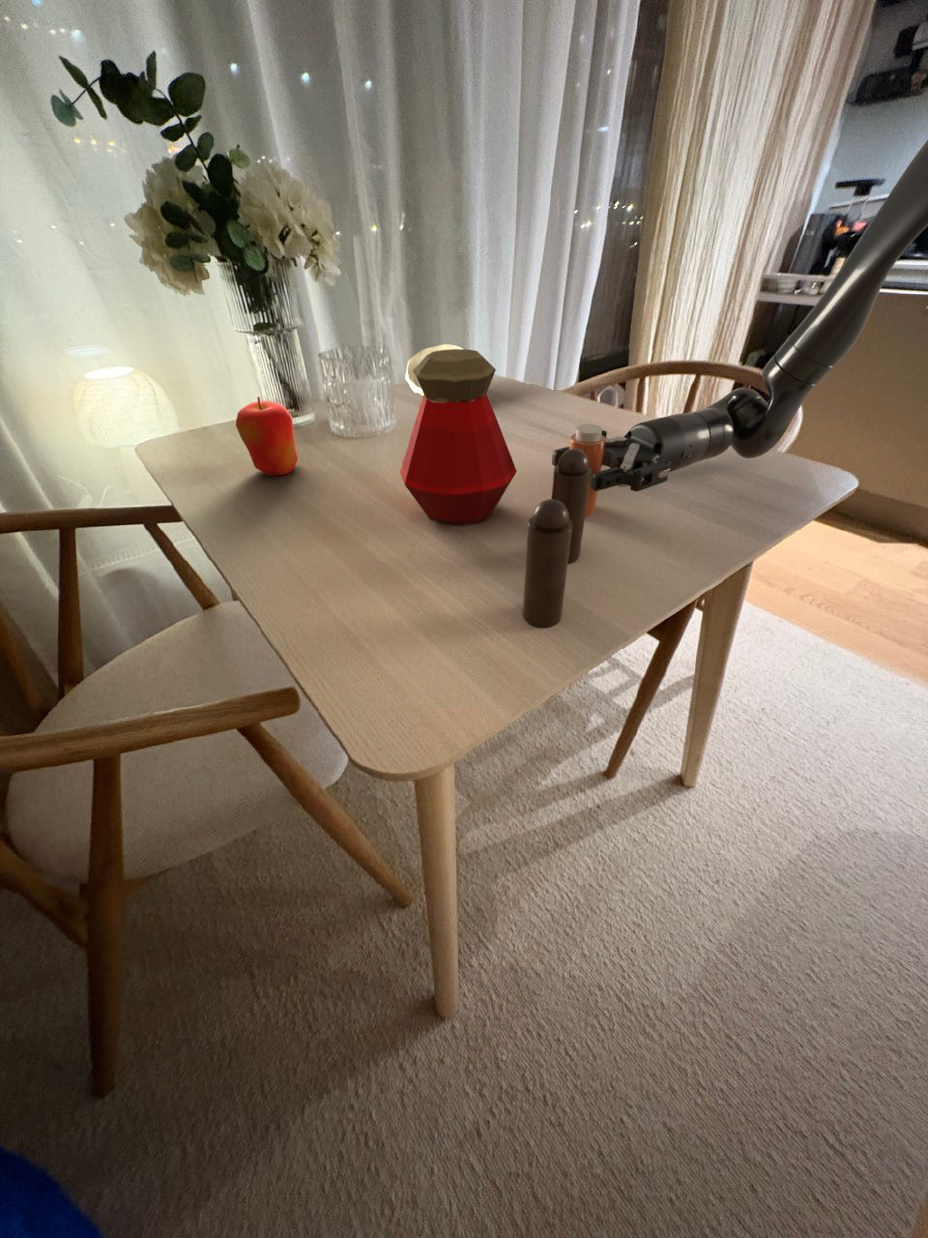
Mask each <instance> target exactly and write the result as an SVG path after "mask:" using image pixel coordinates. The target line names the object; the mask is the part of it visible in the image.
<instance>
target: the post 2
mask: <svg viewBox="0 0 928 1238" xmlns="http://www.w3.org/2000/svg"><path fill="white" fill-rule="evenodd" d="M591 472H592V470H591V468H590V467H589V460H588V457H587V455H586V454H585V453H584V452H583V451H582V450H580V449H575V448H574V449H569V450H567V451H565V452H564V453H563V454H562V455H561V457H560V459H559V463H558V465H557V466H556V467H555V466H554V469H553V477H552V487H551V488H552V489H551V499H555V500H558V501H560V502H562V503H563V504H564V505H565V506H566V508H567V510H568V513H569V519H570V520H571V521H572V524H573V526H572V534H571V542H570V550H569V558H568V564H569V565H570V564H573V563H576V562H577V561H579V559H580V556H581V548H582V541H583V534H584V528H585V520H586V516H585V514H586V507H587V500H588V493H589V486H590V479H591Z"/></svg>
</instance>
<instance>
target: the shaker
mask: <svg viewBox="0 0 928 1238" xmlns="http://www.w3.org/2000/svg"><path fill="white" fill-rule="evenodd" d="M602 430H603V428H602V427H601V426H600V425H598V424H591V423H590V424H589V423H587V424H586V423H585V424H580V425H578V426H577V427H576V428H575V433H574V434H572V435H571V436H570V438H569V446H570V448H569V449H574V448H575V449H580V450H582V451H583V452H584V453H585V454H586V455H587V457H588V460H589V467H590V468H591V470H592V472H591V479H590V486H589V493H588V500H587V507H586V514H585V517H588V516H592V515H593V514H594V513H595V511H596V505H597V499H598V493H599V490H598V491H595V490H593V489H592V488H591V482H592V476H593V474H594V473H596V472H599V471H602V467H603V466H602V461H603V455H604V448H605V442H606V438H607V437H606V438H605V437H604V436H603V435H602Z"/></svg>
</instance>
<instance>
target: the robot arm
mask: <svg viewBox="0 0 928 1238" xmlns="http://www.w3.org/2000/svg"><path fill="white" fill-rule="evenodd" d="M927 227H928V139H927V140H926V141H925V142H924V143H923V145H922V146H921V148H920V149H919V150H918V151H917V153H916V154H915V156H914V157H913V159H911V161H910V162H909V164H908V166H907V167H906V168H905V170H904V171H903V173H902V174H901V176H900V177H899V179H898V180H897V182H896V184H895V185H894V186H893V188H892V189H891V191H890V192H889V194H888V195H887V197H886V199H885V200H884V201H883V203H882V205H881V206H880V207H879V208H878V211H877V213H876V214H875V215H874V217H873V218H872V220H871V221H870V223H868V226H867V227H866V229H865V230H864V232H863V233H862V234H861V236H860V238H859V239H858V241H857V242H856V244H855V245H854V247H853V248H852V251H851V252H850V253H849V255H848V256H847V258H846V259H845V261H844V263H843V264H842V266H841V267H840V268H839V270H838V272H837V273H836V274H835V277H833V280H832V281H831V283H830V284H828V287H827V288H826V289H825V290H824V293H823V294H822V295H821V296H820V298H819V299H818V300H817V302H816V303H815V305H814V306H813V308H811V310H810V311H809V312H808V313H807V315H806V316H805V318H804V319H803V320H802V321H801V323H800V324H799V325H797V327H796V328H795V329H794V330H793V332H792V333H791V334H790V335H789V336H788V338H786V340H785V341H784V343H783V344H782V345H781V346H780V347H779V348H778V350H777V351H776V352H775V353H774V354H773V355H772V357H771V358H770V359H769V361H768V362H767V363H766V365H765V366H764V367H763V370H762V373H761V375H762V380H763V382H764V385H765V387H766V389H767V392H768V395H769V401H768V402H767V401H766V400H765V398H764V397H763V396H762V395H760V393H759V392H758V391H756V390H755V389H753V388H749V387H738V388H736V389H734V390H732V391H730V392H729V393H727V394H726V395H725V396H723V397H722V398H720V399H719V400H717V401H716V402H714V403H712V404H710V405H708V406H707V407H706V408H703V409H699V410H694V411H690V412H686V413H676V414H675V413H674V414H670V415H667V416H663V417H657V418H655V419H651V420H647V421H643V422H639V423H636V424H634V425H633V426H632V427H631V428H630V429H629V430H628V432H627V433H626V434H625V435H624V436H614V437H613V438H608V437H607V436H608V435H607V434H608V431H606V430H604V429H602V435H603V436H604V437H605V438H606V442H605V448H604V455H603V461H602V467H608V468H607V469H603V470H601V471H599V472H596V473H594V474H593V476H592V482H591V488H592V489H593V490H595V491H598V492H599V491H602V490H606V489H610V488H613V487H620V488H626V487H627V486H628V487H629V486H630V490H631V491H632V492H640V491H642V490H646V489H648V488H652V487H654V486H657V485H660V484H662V483H665V482H667V481H668V477H669V474H670V473H671V472H674V471H677V470H681V469H684V468H686V467H688V466H690V465H692V464H694V463H698V462H701V461H705V460H708V459H712V458H714V457H717V456H720V455H722V454H723V453H725V452H726V451H728V449H729V448H730V447H731V448H732V449H733V450H734V452H735V453H737V455H739V456H740V457H742V458H744V459H755V458H758V457H761V456H763V455H765V454H767V453H768V452H769V451H771V450H772V449H773V448H774V447H775V446H776V445H777V444H778V443H779V442H780V440H781V439H782V438H783V436H784V435H785V433H786V432H787V430H788V428H789V426H790V424H791V423H792V421H793V419H794V417H795V416H796V415H797V413H798V411H799V409H800V408H801V406H802V405H803V403H804V402H805V400H806V399H807V397H808V396H809V394H810V393H811V392H812V391H813V389H814V388H815V387H816V386H817V385H818V384H819V383H820V382H821V381H822V380H823V379H824V378H826V376H827V375H828V374H829V373H830V372H831V371H832V370H833V369H834V368H835V367H836V365H838V364H839V362H841V361H842V360H843V358H845V356H846V355H847V354H848V353H849V352H850V351H851V349H852V347H854V345H855V344H856V342H857V341H858V339H859V338H860V336H861V334H862V332H863V330H864V329H865V327H866V325H867V322H868V320H869V317H870V315H871V313H872V311H873V308H874V306H875V303H876V300H877V298H878V296H879V293H880V291H881V289H882V286H883V285H884V283H885V281H886V279H887V278H888V275H889V274H890V272H891V270H892V269H893V267H894V266H895V264H896V263H897V261H898V260H899V259H900V258H901V256H902V255H903V253H904V252H905V251H906V250H907V249H908V247H909V246H910V245H911V244H912V243H913V241H914V240H916V238H917V237H918V236H920V234H921V233H922V232H923V231H924V230H925V229H926V228H927ZM569 448H570V445H569V446H564V447H561V448H557V449H554V450H553V452H552V457H551V465H552V466H554V468H555V467H556V466H557V465H558V463H559V459H560V457H561V455H562V454H563V453H564V452H565V451H567V450H569Z"/></svg>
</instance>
